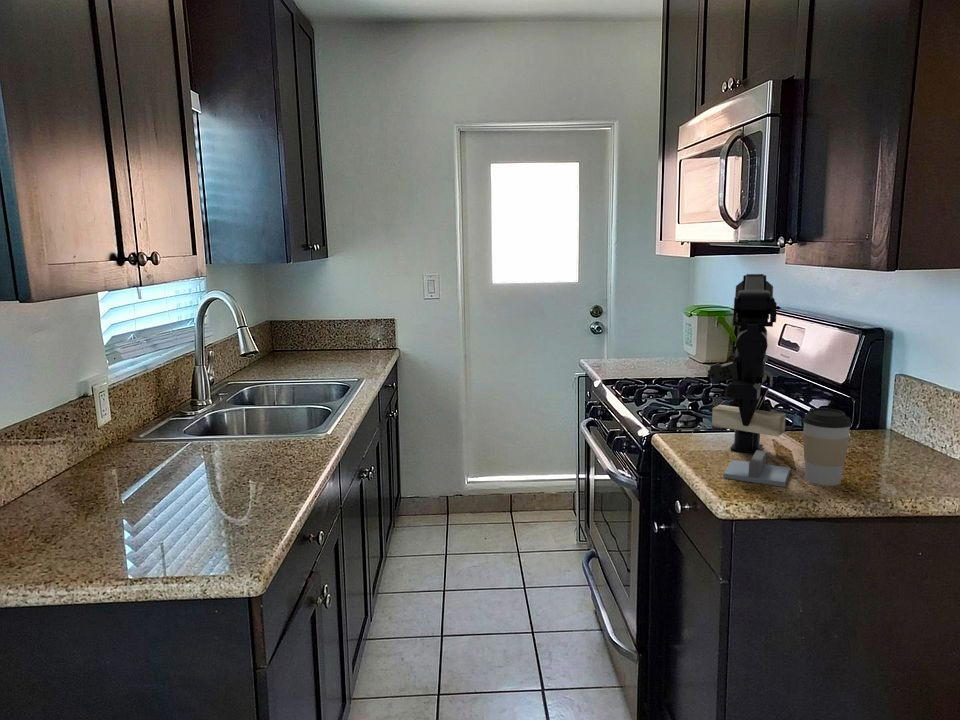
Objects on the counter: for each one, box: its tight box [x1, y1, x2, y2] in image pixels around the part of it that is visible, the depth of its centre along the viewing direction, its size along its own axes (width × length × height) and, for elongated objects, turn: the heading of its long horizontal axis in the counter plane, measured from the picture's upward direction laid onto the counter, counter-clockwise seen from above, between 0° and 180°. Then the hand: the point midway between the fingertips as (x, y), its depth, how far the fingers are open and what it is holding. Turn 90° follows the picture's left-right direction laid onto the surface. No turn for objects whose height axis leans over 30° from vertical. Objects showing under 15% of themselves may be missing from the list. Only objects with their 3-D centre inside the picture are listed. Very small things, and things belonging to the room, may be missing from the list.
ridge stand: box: [722, 450, 791, 488], centre depth 146 cm, size 10×12×4 cm
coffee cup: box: [802, 407, 852, 487], centre depth 141 cm, size 9×9×15 cm
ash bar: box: [711, 404, 786, 437], centre depth 146 cm, size 4×14×4 cm, turn 49°
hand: (747, 423), depth 146 cm, fingers closed on ash bar, 4 cm apart
